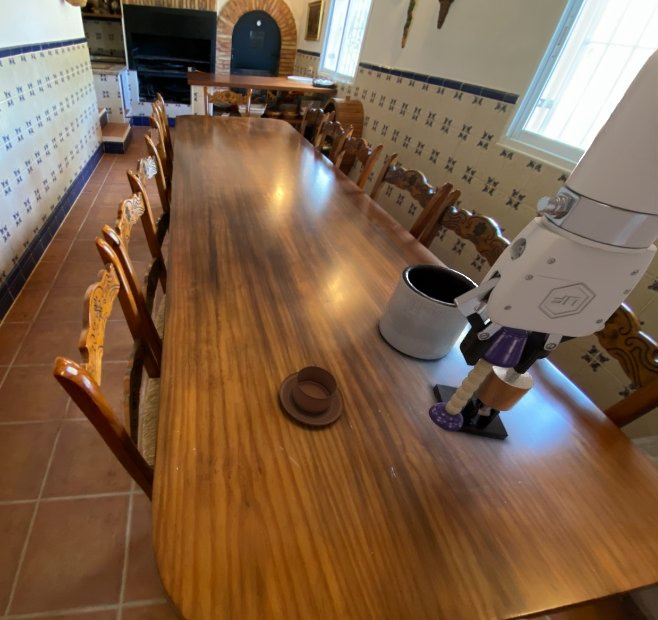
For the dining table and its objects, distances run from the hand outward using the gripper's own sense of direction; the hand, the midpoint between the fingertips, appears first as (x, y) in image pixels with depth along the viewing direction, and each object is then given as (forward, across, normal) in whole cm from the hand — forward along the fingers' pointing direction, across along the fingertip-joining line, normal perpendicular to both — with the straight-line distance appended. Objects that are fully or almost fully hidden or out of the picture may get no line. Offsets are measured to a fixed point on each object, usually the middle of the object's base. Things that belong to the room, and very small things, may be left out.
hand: (490, 359), depth 42 cm
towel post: (+23, +14, +12) cm, 30 cm away
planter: (+27, +8, +34) cm, 44 cm away
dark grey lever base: (+26, +14, +14) cm, 33 cm away
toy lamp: (+12, 0, 0) cm, 12 cm away
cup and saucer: (+27, -16, +10) cm, 32 cm away
